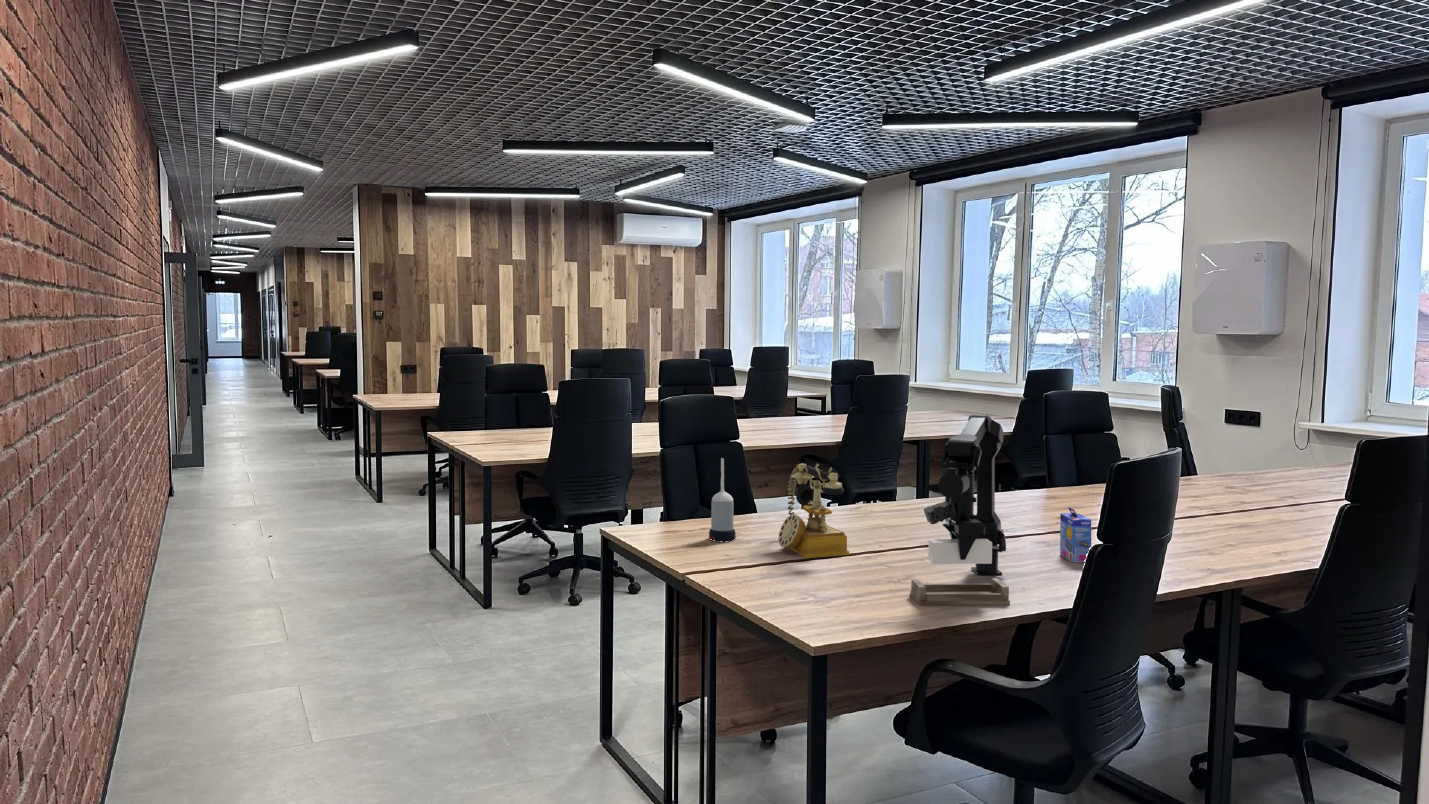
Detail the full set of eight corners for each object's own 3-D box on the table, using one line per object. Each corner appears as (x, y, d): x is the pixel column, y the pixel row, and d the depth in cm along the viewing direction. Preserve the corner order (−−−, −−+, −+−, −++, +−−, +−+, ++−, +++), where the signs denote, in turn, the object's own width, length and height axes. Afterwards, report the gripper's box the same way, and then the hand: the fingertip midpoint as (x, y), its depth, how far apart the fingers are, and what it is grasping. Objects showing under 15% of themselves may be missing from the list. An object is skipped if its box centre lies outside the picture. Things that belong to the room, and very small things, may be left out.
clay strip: (928, 559, 231) (928, 539, 231) (986, 559, 232) (986, 538, 231) (932, 563, 227) (933, 542, 227) (991, 563, 228) (992, 542, 227)
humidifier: (706, 541, 294) (706, 459, 292) (712, 536, 302) (712, 456, 300) (732, 542, 292) (732, 460, 290) (738, 537, 300) (738, 457, 298)
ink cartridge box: (1058, 554, 277) (1059, 504, 276) (1077, 554, 278) (1078, 504, 277) (1072, 563, 268) (1073, 511, 267) (1091, 562, 268) (1093, 511, 267)
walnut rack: (910, 594, 234) (910, 577, 234) (995, 593, 235) (996, 577, 235) (920, 605, 224) (920, 588, 224) (1010, 604, 225) (1010, 588, 225)
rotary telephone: (753, 538, 298) (753, 457, 297) (805, 534, 304) (806, 455, 303) (800, 564, 265) (801, 473, 263) (858, 559, 271) (860, 470, 269)
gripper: (917, 486, 237) (916, 548, 238) (938, 499, 219) (936, 567, 220) (962, 485, 238) (961, 548, 239) (986, 498, 219) (985, 566, 220)
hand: (959, 557), depth 229 cm, fingers closed on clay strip, 4 cm apart
